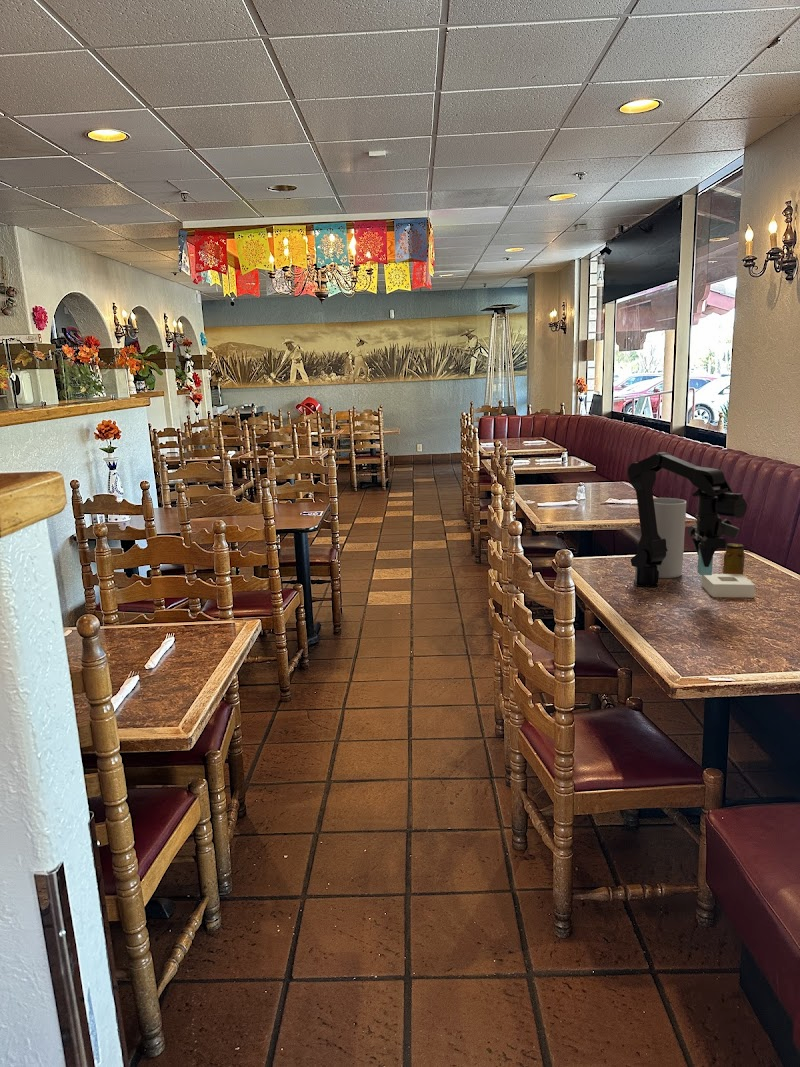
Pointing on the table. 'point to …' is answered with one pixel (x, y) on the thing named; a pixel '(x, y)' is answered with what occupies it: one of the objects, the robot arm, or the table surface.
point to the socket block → (728, 585)
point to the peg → (701, 568)
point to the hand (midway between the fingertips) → (704, 565)
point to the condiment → (734, 559)
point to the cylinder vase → (671, 534)
